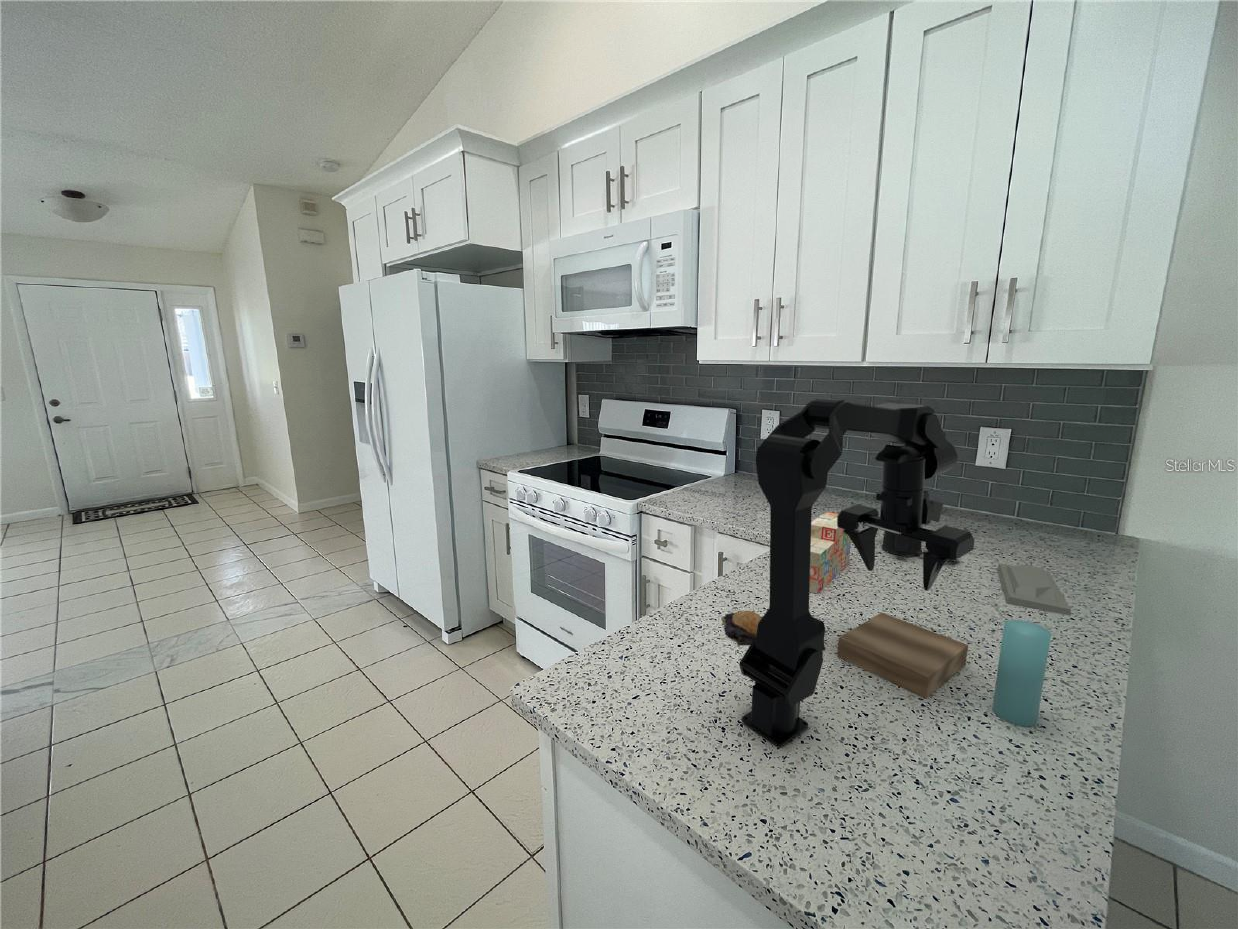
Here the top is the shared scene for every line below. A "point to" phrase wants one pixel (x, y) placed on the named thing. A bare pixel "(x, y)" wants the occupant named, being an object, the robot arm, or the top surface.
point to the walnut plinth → (903, 653)
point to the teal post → (1021, 672)
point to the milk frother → (901, 545)
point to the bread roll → (741, 626)
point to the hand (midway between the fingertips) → (897, 579)
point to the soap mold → (1031, 588)
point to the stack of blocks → (827, 551)
